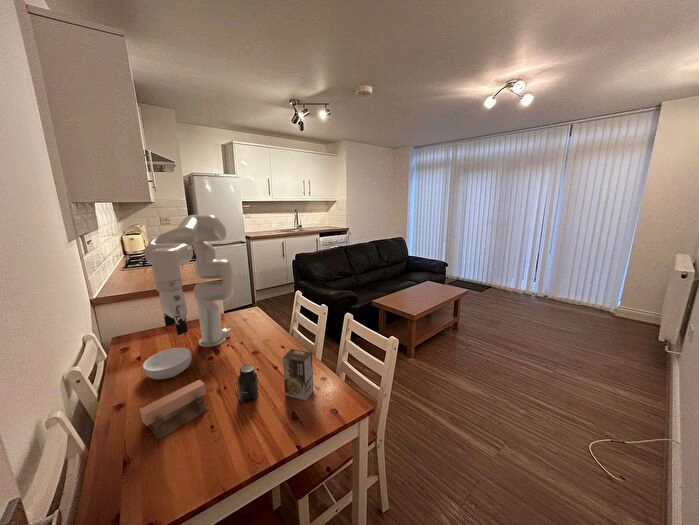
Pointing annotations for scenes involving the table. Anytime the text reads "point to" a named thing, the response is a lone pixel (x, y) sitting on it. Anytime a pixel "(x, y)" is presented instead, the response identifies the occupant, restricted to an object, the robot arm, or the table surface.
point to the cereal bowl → (167, 363)
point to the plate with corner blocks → (178, 417)
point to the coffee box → (298, 374)
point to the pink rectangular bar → (172, 402)
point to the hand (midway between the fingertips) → (176, 329)
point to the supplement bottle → (247, 384)
